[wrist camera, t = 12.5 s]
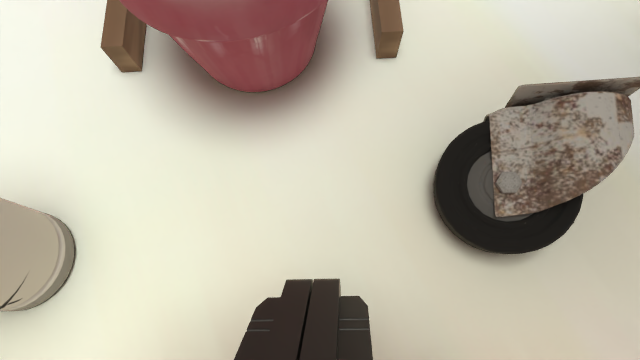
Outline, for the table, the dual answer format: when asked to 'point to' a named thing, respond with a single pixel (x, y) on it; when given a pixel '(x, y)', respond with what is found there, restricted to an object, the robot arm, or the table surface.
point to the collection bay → (129, 32)
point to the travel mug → (31, 256)
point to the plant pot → (240, 36)
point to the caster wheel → (533, 163)
